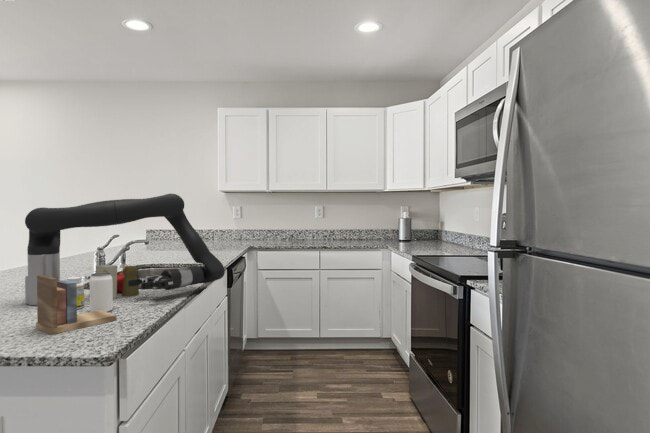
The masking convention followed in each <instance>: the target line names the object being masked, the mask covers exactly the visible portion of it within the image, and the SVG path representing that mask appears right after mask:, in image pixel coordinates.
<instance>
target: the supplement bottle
mask: <svg viewBox="0 0 650 433" xmlns="http://www.w3.org/2000/svg"><path fill="white" fill-rule="evenodd" d="M66 280H68V281H72V282H75V283H77V310H80V309H83V308H84V307H85V283H83V282H82V277H81V276H71V277H66Z"/></svg>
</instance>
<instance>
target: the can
mask: <svg viewBox="0 0 650 433" xmlns="http://www.w3.org/2000/svg"><path fill="white" fill-rule="evenodd" d="M113 306H114V303H113V283H112V276H111V273H96V272H95V273H91V274H90V278H89V312H93V311H98V310H102V311H105V312H108V313H110V312H111V311H112V310H113Z"/></svg>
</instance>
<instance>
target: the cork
mask: <svg viewBox="0 0 650 433" xmlns="http://www.w3.org/2000/svg"><path fill="white" fill-rule="evenodd" d="M122 272H123V273H122V274H124V282H123V290H122V292H121V296H122V297H134V296H138V295H140V291H139V285H137V286H131V287H130V286H128V281H129V280H134V279H137V278H138V276H137V274H138V272H139V269H138V267H137V266H136V265H126V266H124V267H123V269H122Z"/></svg>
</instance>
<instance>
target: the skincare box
mask: <svg viewBox="0 0 650 433" xmlns="http://www.w3.org/2000/svg"><path fill="white" fill-rule="evenodd" d="M95 273H111V276H112V283H113V299H117V297H118V295H117V273H118V265H115V264H101V265H100V264H99V265H98V264H97V265H95Z"/></svg>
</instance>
